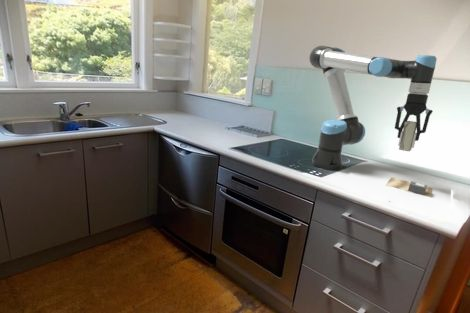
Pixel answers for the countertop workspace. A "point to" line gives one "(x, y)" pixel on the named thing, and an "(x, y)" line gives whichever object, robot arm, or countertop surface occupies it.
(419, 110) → the robot arm
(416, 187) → the gray block
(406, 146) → the box
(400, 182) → the board
